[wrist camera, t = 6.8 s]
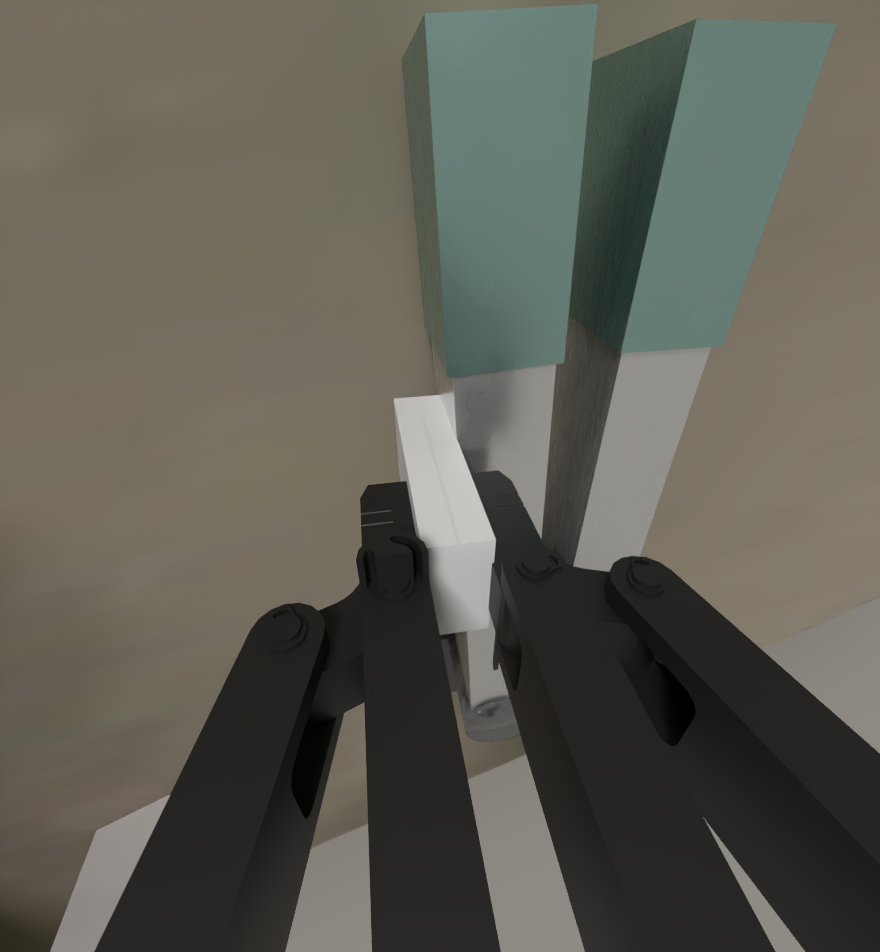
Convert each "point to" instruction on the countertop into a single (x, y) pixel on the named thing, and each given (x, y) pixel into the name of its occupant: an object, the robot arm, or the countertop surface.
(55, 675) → the countertop surface
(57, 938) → the soap dispenser
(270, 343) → the countertop surface
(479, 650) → the tongs hinged arm
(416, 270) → the countertop surface
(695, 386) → the tongs fixed arm
